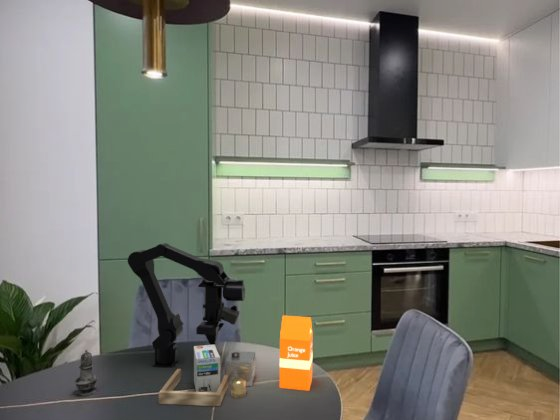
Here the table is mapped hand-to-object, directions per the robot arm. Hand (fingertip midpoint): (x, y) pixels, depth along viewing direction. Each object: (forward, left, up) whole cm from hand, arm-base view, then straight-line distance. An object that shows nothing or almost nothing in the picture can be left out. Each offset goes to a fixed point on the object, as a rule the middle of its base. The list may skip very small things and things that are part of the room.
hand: (213, 347), depth 126 cm
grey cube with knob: (+11, -10, -6) cm, 16 cm away
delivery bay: (0, -18, -6) cm, 19 cm away
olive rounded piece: (+12, -19, -6) cm, 23 cm away
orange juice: (+28, -11, -6) cm, 30 cm away
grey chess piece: (-31, -21, -6) cm, 38 cm away
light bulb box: (+2, -16, -6) cm, 17 cm away
